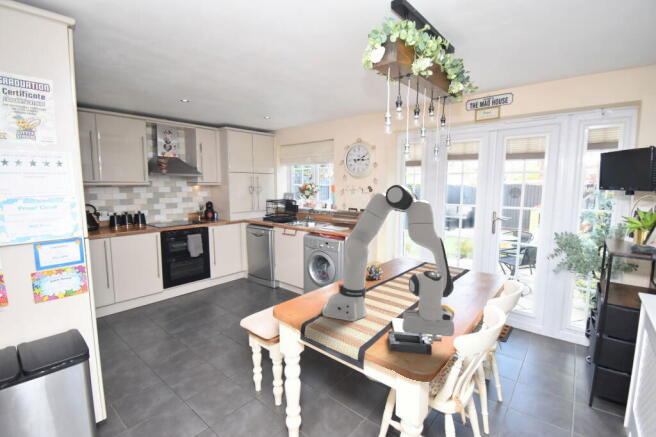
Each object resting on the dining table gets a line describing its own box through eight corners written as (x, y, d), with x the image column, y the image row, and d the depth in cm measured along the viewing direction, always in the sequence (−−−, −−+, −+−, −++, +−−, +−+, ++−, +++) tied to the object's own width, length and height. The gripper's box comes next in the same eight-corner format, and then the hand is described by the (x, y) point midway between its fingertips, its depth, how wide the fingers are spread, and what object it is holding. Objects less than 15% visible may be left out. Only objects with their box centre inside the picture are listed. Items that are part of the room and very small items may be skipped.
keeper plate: (394, 335, 132) (395, 320, 131) (391, 320, 146) (392, 306, 145) (441, 339, 130) (443, 324, 129) (433, 324, 144) (434, 310, 143)
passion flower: (376, 287, 205) (372, 276, 198) (365, 279, 213) (360, 268, 206) (387, 276, 209) (383, 265, 202) (375, 269, 217) (372, 258, 210)
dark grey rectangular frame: (390, 350, 121) (390, 343, 120) (388, 337, 131) (388, 331, 130) (431, 354, 119) (431, 347, 119) (425, 340, 129) (426, 334, 129)
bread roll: (443, 318, 151) (443, 311, 151) (433, 310, 160) (434, 303, 159) (458, 317, 153) (458, 310, 152) (447, 309, 161) (448, 302, 161)
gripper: (404, 312, 120) (401, 344, 122) (457, 317, 118) (453, 349, 120) (402, 306, 126) (399, 336, 128) (452, 310, 124) (449, 341, 126)
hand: (426, 343), depth 124 cm, fingers closed on dark grey rectangular frame, 2 cm apart
